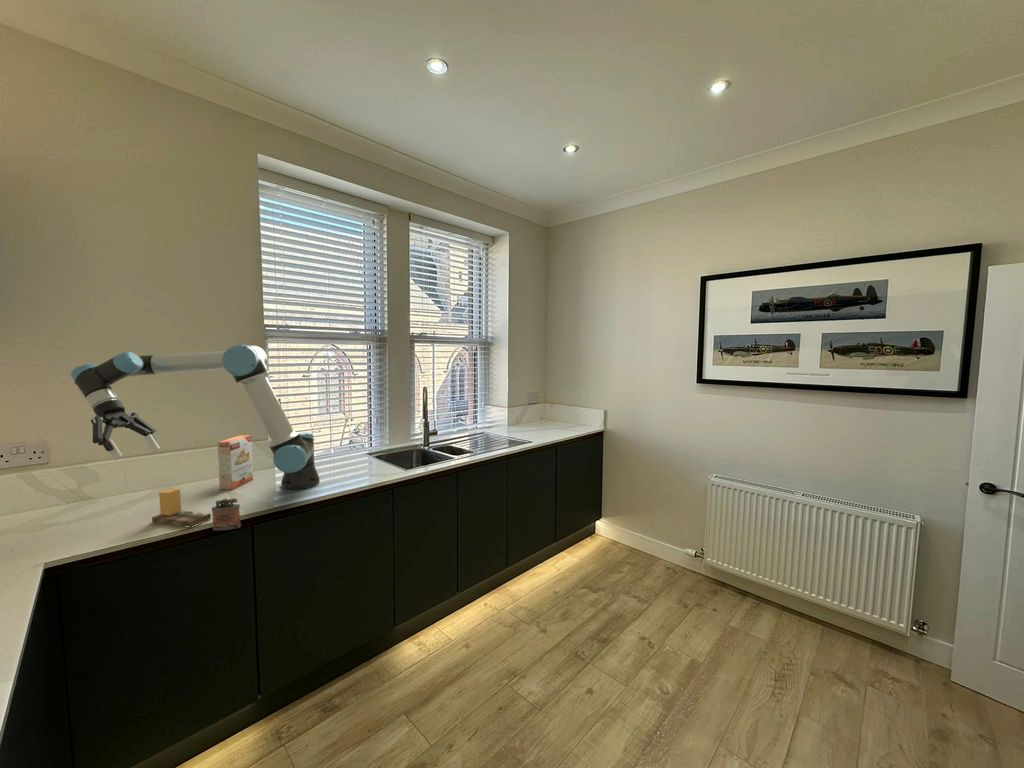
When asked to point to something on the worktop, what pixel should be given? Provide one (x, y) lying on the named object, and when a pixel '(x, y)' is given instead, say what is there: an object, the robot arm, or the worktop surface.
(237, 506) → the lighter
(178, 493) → the orange rectangular block
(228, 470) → the cracker box
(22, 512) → the worktop surface
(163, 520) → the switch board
